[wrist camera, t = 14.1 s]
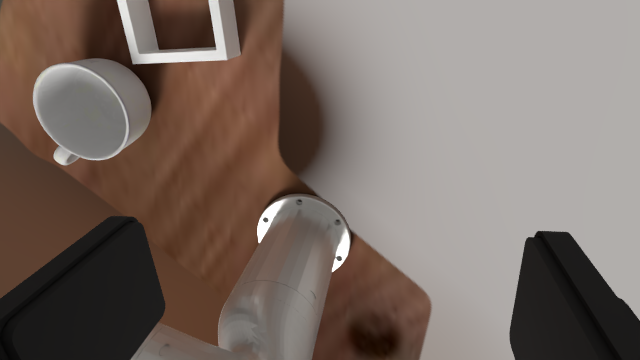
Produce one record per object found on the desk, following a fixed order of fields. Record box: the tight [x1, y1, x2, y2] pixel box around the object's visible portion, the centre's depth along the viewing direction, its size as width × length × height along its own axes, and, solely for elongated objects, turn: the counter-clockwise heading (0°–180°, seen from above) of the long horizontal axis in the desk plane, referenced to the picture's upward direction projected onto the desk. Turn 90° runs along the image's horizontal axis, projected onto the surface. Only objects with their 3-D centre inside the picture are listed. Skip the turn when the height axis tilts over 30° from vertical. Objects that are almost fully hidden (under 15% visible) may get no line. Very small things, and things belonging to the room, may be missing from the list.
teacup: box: [33, 58, 151, 165], centre depth 46 cm, size 14×11×8 cm
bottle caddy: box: [117, 0, 241, 64], centre depth 41 cm, size 11×11×4 cm
